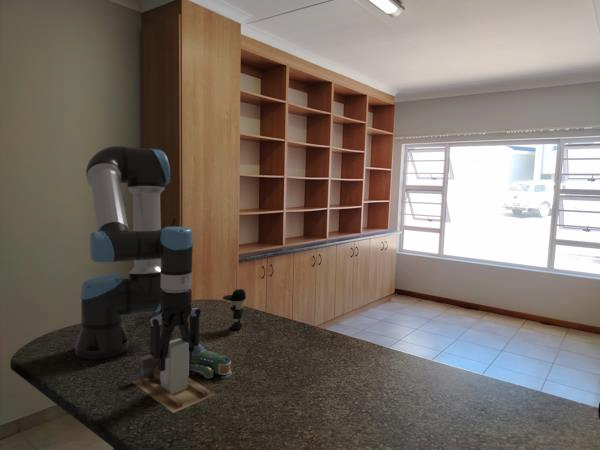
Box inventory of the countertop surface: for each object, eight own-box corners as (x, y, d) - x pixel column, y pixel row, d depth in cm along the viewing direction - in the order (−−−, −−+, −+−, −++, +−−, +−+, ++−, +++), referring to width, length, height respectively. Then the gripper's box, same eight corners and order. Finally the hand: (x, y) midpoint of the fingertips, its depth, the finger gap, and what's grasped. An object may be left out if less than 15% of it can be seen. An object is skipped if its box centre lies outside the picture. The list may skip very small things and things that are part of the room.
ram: (160, 387, 104) (160, 342, 103) (177, 381, 108) (178, 337, 107) (170, 395, 101) (171, 348, 100) (188, 388, 104) (188, 343, 103)
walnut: (150, 380, 108) (150, 364, 108) (165, 374, 111) (165, 359, 111) (158, 386, 105) (158, 370, 105) (173, 380, 108) (174, 364, 108)
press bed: (132, 386, 107) (132, 360, 106) (173, 371, 116) (173, 347, 115) (173, 417, 94) (173, 388, 93) (215, 398, 103) (216, 371, 102)
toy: (225, 323, 156) (226, 285, 155) (247, 325, 155) (248, 287, 154) (219, 330, 149) (220, 290, 147) (242, 332, 148) (243, 292, 146)
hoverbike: (219, 388, 108) (220, 358, 107) (149, 366, 119) (150, 339, 118) (240, 374, 117) (240, 346, 116) (172, 355, 127) (173, 329, 126)
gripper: (149, 298, 92) (148, 396, 95) (215, 286, 106) (212, 371, 108) (134, 291, 97) (133, 384, 99) (198, 280, 111) (196, 362, 113)
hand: (174, 377), depth 104 cm, fingers closed on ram, 5 cm apart
